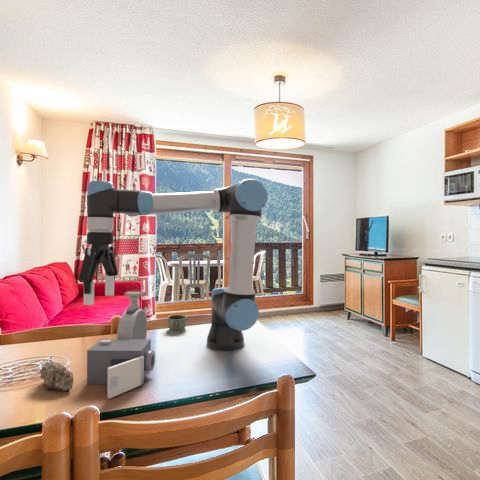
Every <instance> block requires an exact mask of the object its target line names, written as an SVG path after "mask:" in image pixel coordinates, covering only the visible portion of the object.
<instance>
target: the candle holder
mask: <svg viewBox="0 0 480 480" xmlns="http://www.w3.org/2000/svg"><path fill="white" fill-rule="evenodd" d="M144 295H145V292H144V291H142V290H129V291H126V292H124V296H125V297H129V298H128V299H129V300H130V303H129V307H132V306H134V307H139V306H140V303H139V300H140V297H141V296H144Z"/></svg>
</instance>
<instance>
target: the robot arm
mask: <svg viewBox="0 0 480 480" xmlns="http://www.w3.org/2000/svg"><path fill="white" fill-rule="evenodd" d="M86 190H87V193H86V218H87V219H86V222H85V223H86V230H87V231H88V232H87V233H86V243H87V244H88V245H91V247H85V249H84V257H83V260H82V264H81V268H80V272H79V276H78V281H79V283H83V305H84V306H93V305H95V282H94V278H95V276H96V273H97V269H98V267H99V265H102V267H103V269H104V271H105V273H106V275H105V277H104V278H105V279H104V284H105V285H104V296H110V297H112V296H113V297H114V296H115V276H118V266H117V262H116V259H115V254H114V253H115V251H114V246H113V244H114V233H113V231H114V229H115V228H114V227H115V224H114V220H115V219H114V214H125V215H127V216H129V217H138V216H148V215H165V214H166V215H167V214H178V213H179V214H180V213H191V212H192V213H196V212H208V211H213V212H215V214H218V213H228V214H229V217H230V218H231V220H232V221H233V222H232V234H231V245H230V246H231V247H230V257H229V259H230V260H229V274H228V284H227V287H225V286H224V287H214V288H213V289H212V290H211V296H210V298H211V316H210V317H211V323H210V324H211V325H210V328H209V331H208V334H207V336H206V338H207V339H206V345H207V347H208V348H210V349H213V350H219V351H233V350H237V349H240V348H242V347H243V346H244V345H245V337H244V334H243V331H247V330H249V329H251V328H252V327H253V326H254V325H255V324H256V323H257V321H258V320H259V314H260V311H259V306H258V305H257V303H256V291H255V290H254V289H253V287H252V285H253V273H254V262H255V259H254V258H255V249H256V248H255V247H256V233H257V223H258V221H259V220H260V219H261V218H262V211H263V208H265V206H266V204H267V201H268V199H269V198H268V197H269V195H268V191H267V189H266V187H265V186H264V185H263V183H262V182H261V181H259V180H258V179H255V178H247V179H246V178H245V179H242V180H240V181H238V182H236V183H233V184H231V185H229V186H226V187H225V186H224V187H220V188H213V189H212V190H211V191H209V190H208V191H190V192H189V191H188V192H169V193H168V192H166V193H164V192H163V193H153V192H151V191H148V190H142V189H141V190H137V189H135V190H133V189H118V188H115V185H114V183H113V182H112V181H105V180H91V181H89V182H88V183H87V189H86ZM109 245H111V246H109Z"/></svg>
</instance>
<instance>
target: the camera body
mask: <svg viewBox="0 0 480 480" xmlns="http://www.w3.org/2000/svg"><path fill="white" fill-rule="evenodd" d="M151 340H152V339H151V338H149V339H148V338H146V339H117V338H101V339H100V340H99V341H97V342H95V344H93V345H92V346H91V347H90V348H88V349H87V350H86V384H87V385H108V368H109V367H111V366H114V365H117V364H120V363H123V362H126V361H129V360H132V359H135V358H138V357H140V356H144V380H145V379H146V377H147V376H148V374H149V372H152V371H153V370H154V368H155V364H156V351H155V350H154V349H153V350H152V349H151V348H152V345H151V343H152V341H151Z"/></svg>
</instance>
